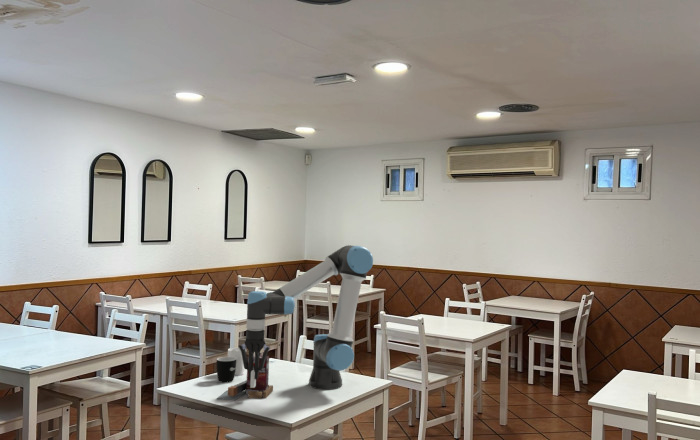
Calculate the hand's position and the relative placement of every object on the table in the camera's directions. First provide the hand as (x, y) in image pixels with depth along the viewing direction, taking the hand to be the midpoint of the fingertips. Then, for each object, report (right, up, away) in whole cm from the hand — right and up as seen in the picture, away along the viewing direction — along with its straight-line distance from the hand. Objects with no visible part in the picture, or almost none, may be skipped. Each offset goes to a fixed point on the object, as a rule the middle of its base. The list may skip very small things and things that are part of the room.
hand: (252, 386), depth 233 cm
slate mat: (-10, -5, +5) cm, 13 cm away
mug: (-17, -6, +30) cm, 35 cm away
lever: (-6, -5, +9) cm, 12 cm away
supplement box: (0, -6, +9) cm, 11 cm away
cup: (-15, -6, +42) cm, 45 cm away
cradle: (0, -6, +10) cm, 12 cm away
